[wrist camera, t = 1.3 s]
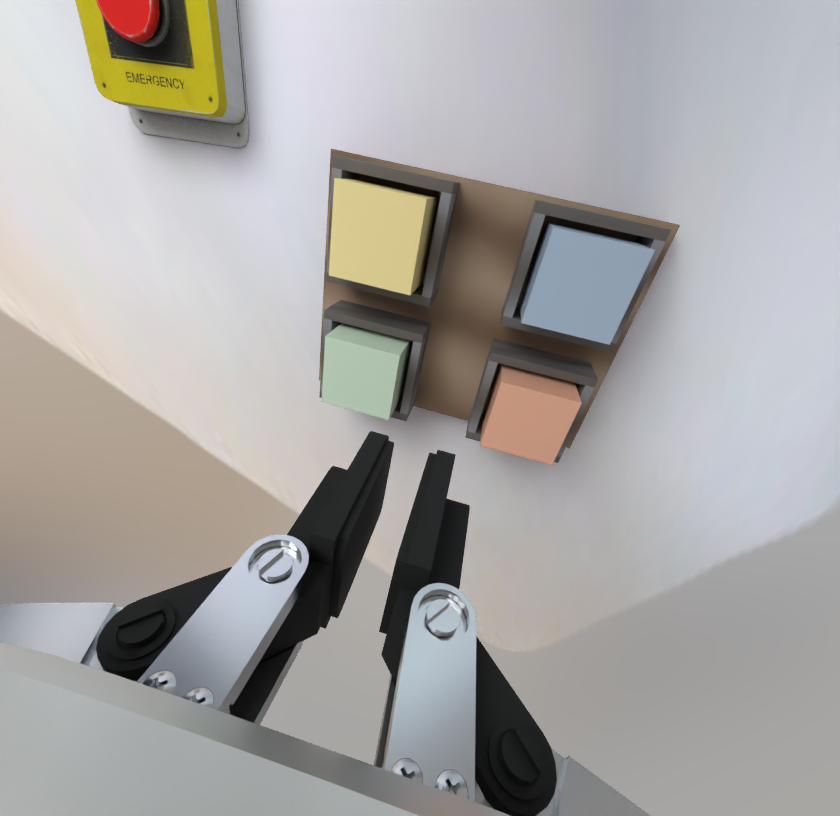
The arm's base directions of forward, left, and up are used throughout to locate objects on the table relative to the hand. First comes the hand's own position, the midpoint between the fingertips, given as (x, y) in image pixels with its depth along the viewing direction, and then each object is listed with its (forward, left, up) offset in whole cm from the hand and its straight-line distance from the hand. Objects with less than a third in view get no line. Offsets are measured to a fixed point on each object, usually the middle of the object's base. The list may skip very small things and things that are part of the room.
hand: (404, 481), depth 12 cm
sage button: (+5, -6, -18) cm, 19 cm away
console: (+1, 0, -21) cm, 21 cm away
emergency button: (-14, -23, -22) cm, 35 cm away
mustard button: (-4, -6, -18) cm, 19 cm away
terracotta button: (+5, +6, -18) cm, 19 cm away
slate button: (-4, +6, -18) cm, 19 cm away
